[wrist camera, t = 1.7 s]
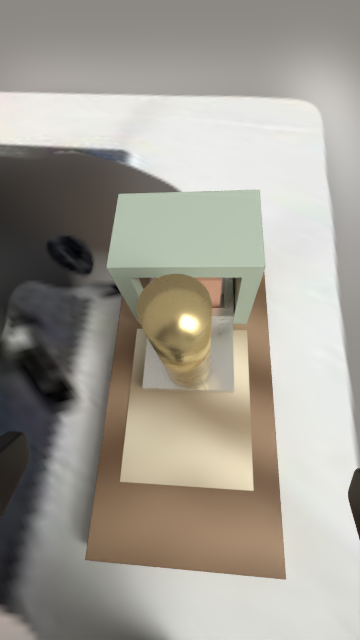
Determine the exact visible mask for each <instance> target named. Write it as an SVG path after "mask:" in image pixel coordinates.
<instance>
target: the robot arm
mask: <svg viewBox="0 0 360 640" xmlns="http://www.w3.org/2000/svg"><path fill="white" fill-rule="evenodd" d="M29 459H30V451H29V447H28V443H27V438H26V435H25V434H24V433H23V432H16V431H9V432H7V433H5V434H3V435H1V436H0V519H1V517H2V515H3V513H4V511H5V509H6V507H7V505H8V503H9V501H10V499H11V497H12V495H13V493H14V491H15V489H16V487H17V485H18V483H19V481H20V479H21V477H22V475H23V473H24V470H25V468H26V466H27V464H28V462H29ZM348 498H349V503H350V506H351V510H352V514H353V517H354V521H355V524H356V528H357V532H358V535H359V539H360V468H357V469H356V470H355V472H354V474H353V478H352V481H351V484H350V487H349V491H348Z"/></svg>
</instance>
